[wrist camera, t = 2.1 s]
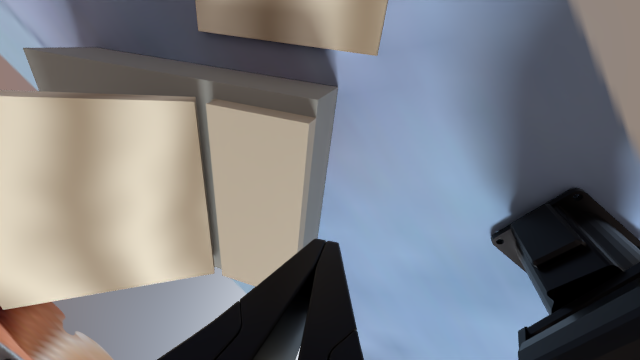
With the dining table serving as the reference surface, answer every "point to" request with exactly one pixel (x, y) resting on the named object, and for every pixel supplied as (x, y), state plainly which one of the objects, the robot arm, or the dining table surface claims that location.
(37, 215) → the board
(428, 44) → the dining table surface
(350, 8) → the plank
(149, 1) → the dining table surface
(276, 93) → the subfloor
